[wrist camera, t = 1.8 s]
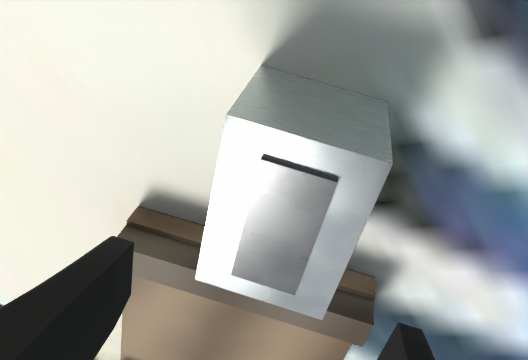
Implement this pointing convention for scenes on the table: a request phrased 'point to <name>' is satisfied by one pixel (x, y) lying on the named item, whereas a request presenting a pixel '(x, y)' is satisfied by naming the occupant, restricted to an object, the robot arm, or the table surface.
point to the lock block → (293, 189)
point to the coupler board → (224, 306)
